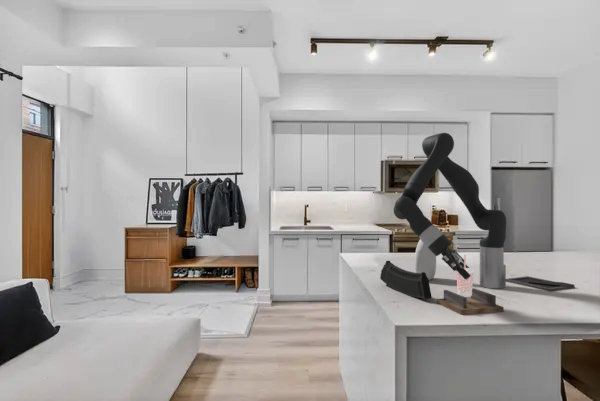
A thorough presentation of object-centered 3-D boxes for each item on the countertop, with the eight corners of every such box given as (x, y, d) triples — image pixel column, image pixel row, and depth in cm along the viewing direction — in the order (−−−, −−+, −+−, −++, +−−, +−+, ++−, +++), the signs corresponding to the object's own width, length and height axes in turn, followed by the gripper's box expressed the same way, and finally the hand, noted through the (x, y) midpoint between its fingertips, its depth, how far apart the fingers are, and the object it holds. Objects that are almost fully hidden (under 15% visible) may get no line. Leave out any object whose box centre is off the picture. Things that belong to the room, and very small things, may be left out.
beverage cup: (467, 292, 133) (467, 253, 133) (478, 296, 127) (478, 256, 127) (451, 292, 132) (452, 253, 132) (461, 297, 126) (462, 256, 126)
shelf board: (475, 300, 137) (475, 287, 137) (503, 311, 124) (503, 296, 124) (436, 302, 134) (436, 289, 134) (461, 314, 120) (461, 299, 120)
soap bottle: (425, 283, 165) (425, 223, 165) (410, 280, 172) (410, 222, 172) (443, 279, 174) (443, 222, 174) (428, 276, 180) (428, 221, 180)
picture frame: (574, 289, 157) (527, 279, 176) (574, 284, 157) (527, 275, 176) (549, 293, 151) (503, 282, 170) (549, 288, 151) (503, 278, 170)
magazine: (436, 278, 134) (391, 245, 161) (429, 279, 132) (385, 245, 160) (427, 319, 138) (385, 280, 165) (420, 320, 137) (379, 281, 164)
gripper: (438, 234, 127) (475, 273, 121) (446, 231, 139) (481, 266, 133) (422, 249, 130) (458, 286, 124) (432, 244, 142) (465, 279, 136)
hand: (469, 276), depth 129 cm, fingers closed on beverage cup, 6 cm apart
